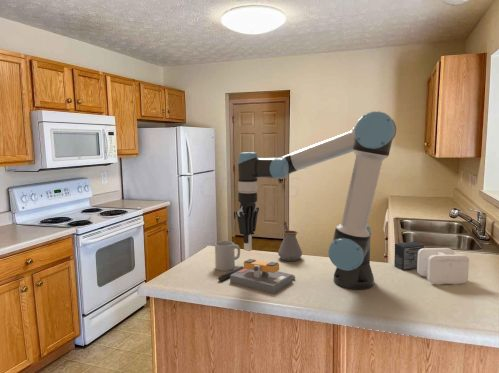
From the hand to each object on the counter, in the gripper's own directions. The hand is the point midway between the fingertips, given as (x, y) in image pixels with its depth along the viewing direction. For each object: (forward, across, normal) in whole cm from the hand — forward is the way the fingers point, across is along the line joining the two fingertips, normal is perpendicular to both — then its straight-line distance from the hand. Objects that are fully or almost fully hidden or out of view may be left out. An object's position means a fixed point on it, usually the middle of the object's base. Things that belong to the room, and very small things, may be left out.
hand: (247, 250), depth 145 cm
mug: (+12, -7, -16) cm, 21 cm away
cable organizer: (+11, -41, +64) cm, 77 cm away
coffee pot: (+12, -36, -2) cm, 38 cm away
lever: (+7, 0, +6) cm, 9 cm away
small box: (+11, -50, +50) cm, 72 cm away
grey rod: (+12, -10, +7) cm, 17 cm away
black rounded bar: (+12, +1, -8) cm, 14 cm away
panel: (+12, 0, +6) cm, 13 cm away
